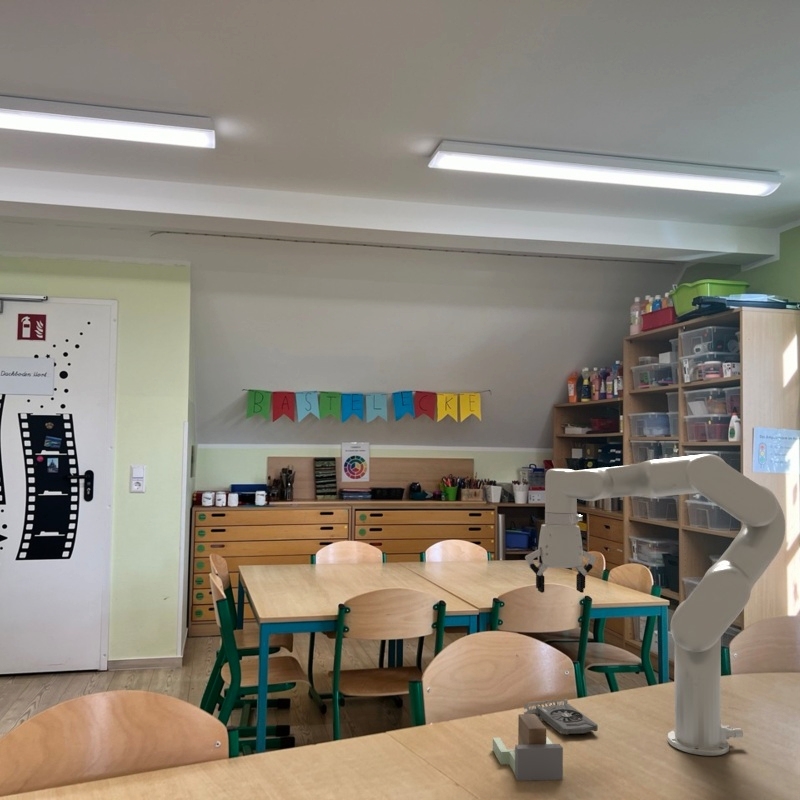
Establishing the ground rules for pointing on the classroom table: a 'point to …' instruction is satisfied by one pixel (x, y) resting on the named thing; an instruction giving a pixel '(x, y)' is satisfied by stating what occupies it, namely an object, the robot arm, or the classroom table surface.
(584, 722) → the graphics card
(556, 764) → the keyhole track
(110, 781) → the classroom table surface
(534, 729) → the brown wooden block
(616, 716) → the classroom table surface
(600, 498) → the robot arm
